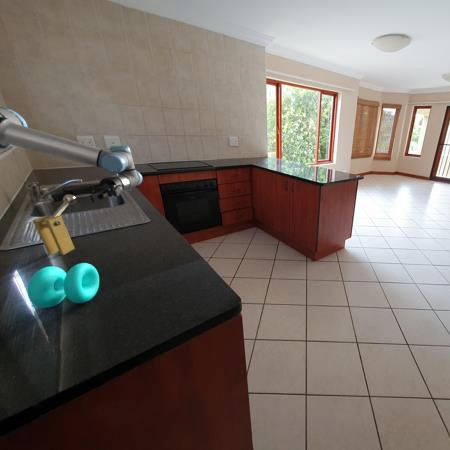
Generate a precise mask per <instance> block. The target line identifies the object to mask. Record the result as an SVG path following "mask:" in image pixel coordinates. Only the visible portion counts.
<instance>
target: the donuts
mask: <svg viewBox="0 0 450 450" xmlns="http://www.w3.org/2000/svg"><path fill="white" fill-rule="evenodd" d="M65 271H66V270H64V269H62V268H61V267H58V266H54V265H53V266H52V265H51V266H50V265H49V266H45V267H42V268H40V269H38V270H37V271H36V272H35V273H34V274H33V275H32V276H31V278H30V279H29V282H28V285H27V294H28V295H27V296H28V298H29V300H30V302H31V303H32V304H33V305H34V306H36V307H38V308H43V309H48V308H52V307H55V306H57V305H58V304H60V303H61V302H63V301H64V299H65V298H66V299H68V300H69V301H71V302H72V303H75V304H84V303H88V302H89V301H91V300H92V299H93V298H94V297H95V296H96V295H97V293H98V290H99V288H100V287H99V286H100V275H99V272H98V270H97V269H96V267H95V266H94V265H92V264H90V263H87V262H81V263H77V264H75V265H73V266H72V267H71V268H70V269H68V271H67V272H65Z"/></svg>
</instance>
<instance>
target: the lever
mask: <svg viewBox="0 0 450 450" xmlns="http://www.w3.org/2000/svg"><path fill="white" fill-rule="evenodd" d="M62 202H63V203H61V205H59V207H58V208H57V210H55V212H54V213H53V214H52V215H51V216H50V218H45V219H44V221H43V222H42V223H41V225H42V226H43V227H45V228H46V229H49V227H48V225H47V223H46V220H49V219H51V218H54V217H56V216H61V214H62V213H63V212H64V211H65V210H66V208H68V206H69V205H73V204H75V203H76V202H77V197H76V196H73V195H70V194H69V195H65V196H64V197H63V200H62Z"/></svg>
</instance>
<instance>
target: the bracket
mask: <svg viewBox="0 0 450 450" xmlns="http://www.w3.org/2000/svg"><path fill="white" fill-rule="evenodd" d="M45 218H51V216H50V215H43V216H41V217H38V218H36V219H33V220H32V222H33V225H34V227H35V229H36V232H37V233H38V236H39V237H40V239H41V241H42V244H43V246H44V248H45V250H46V252H47V254H48V255H49V256H52V255H54V254H56V253H58V252H59V254H60V255H61V256H64V255H66V254H67V253H70V252H71V251H73V250H75V245H74V243H73V241H72V239H71V236H70V234H69V231H68V229H67V226H66V224H65V222H64V219H63V217H62V215H60V216H56V217H54V218H51V219H49V220H46V223H47V225H48V227H49V229H46V228H45V227H43V226H42V225H41V223H42V222H43V221H44V219H45Z"/></svg>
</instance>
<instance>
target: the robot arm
mask: <svg viewBox="0 0 450 450" xmlns="http://www.w3.org/2000/svg"><path fill="white" fill-rule="evenodd" d="M11 145H12V146H16V147H19V148H23V149H27V150H31V151H34V152H39V153H41V154H47V155H50V156H54V157H57V158H62V159H66V160H70V161H72V162H77V163H80V164H83V165H84V164H85V165H88V166H92V167H96V168H100V169H103V170H104V171H105V172H107V173H109V174H114V175H111V176H107V177H104V178H102V179H100V181H99V183H95V184H92V183H91V184H86V185H81V186H75V187H70V188H63V189H62V191H60V192H57V193H53V194H51V198H52V200H53V203H58V202H61V201H63V197H64V196H65V195H69V194H70V195H73V196H75V197H76V196H81V195H89V194H90V195H89V198H90V199H91V202H92V203H96V202H100V201H103V200H105V199H107V198H112V197H113V196H114V197H118V196H119V195H120V194H121V193H122V192H125V191H127V190H129V189H132V188H135V187H138V186H139V185H141V184H142V182H143V175H142V174H141V173H140V172H139V171H138V170H136V167H135V162H134V159H133V156H132V151H131V148H130V146H128V145H111V146H110V147H109V150H107V149H102V148H100V147H95V146H93V145H89V144H85V143H82V142H78V141H75V140H73V139H68V138H65V137H63V136H58V135H55V134H52V133H49V132H44V131H41V130H38V129H35V128H31V127H28V124H27V121H26V120H25V118H23V117H22V116H21V114H19V113H18V112H16V111H14V110H13V109H10V108H8V107H3V106H0V150H5V149H7V148H9V146H11Z"/></svg>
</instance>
